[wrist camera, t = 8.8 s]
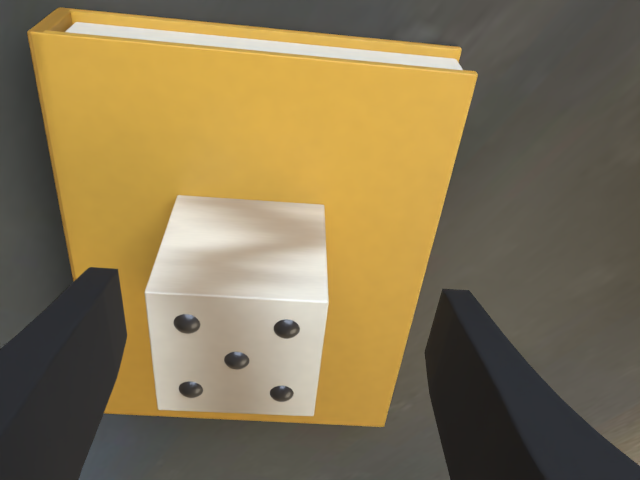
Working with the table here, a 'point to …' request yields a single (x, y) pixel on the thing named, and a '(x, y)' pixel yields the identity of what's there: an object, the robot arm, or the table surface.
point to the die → (239, 306)
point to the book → (255, 169)
